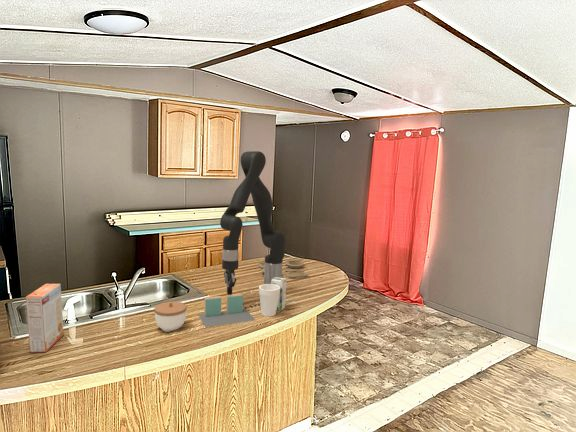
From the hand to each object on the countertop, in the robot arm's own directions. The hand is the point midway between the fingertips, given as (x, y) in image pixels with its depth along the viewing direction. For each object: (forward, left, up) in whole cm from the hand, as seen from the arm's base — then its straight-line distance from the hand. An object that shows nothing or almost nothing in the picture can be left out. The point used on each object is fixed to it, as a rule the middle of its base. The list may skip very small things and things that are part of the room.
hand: (229, 294), depth 191 cm
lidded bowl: (+29, +14, -7) cm, 33 cm away
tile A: (0, +8, -6) cm, 10 cm away
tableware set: (-48, -49, -7) cm, 69 cm away
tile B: (+10, +8, -6) cm, 14 cm away
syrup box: (-21, +8, -7) cm, 24 cm away
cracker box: (+73, +13, -7) cm, 74 cm away
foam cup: (-14, +14, -7) cm, 21 cm away
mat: (+5, +12, -6) cm, 15 cm away
